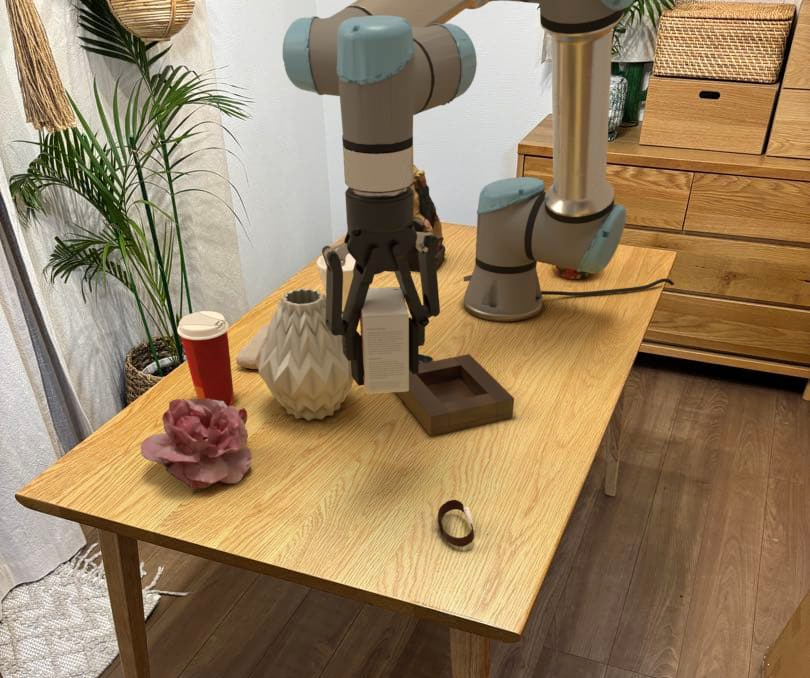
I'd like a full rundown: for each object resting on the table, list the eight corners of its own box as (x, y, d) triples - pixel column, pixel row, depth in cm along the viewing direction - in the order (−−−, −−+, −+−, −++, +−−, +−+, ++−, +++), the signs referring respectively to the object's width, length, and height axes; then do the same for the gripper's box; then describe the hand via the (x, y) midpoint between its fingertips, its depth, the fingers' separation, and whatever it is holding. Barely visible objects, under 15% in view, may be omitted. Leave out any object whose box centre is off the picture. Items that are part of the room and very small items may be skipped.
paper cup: (248, 394, 130) (236, 313, 121) (225, 417, 124) (211, 334, 115) (207, 386, 132) (191, 306, 123) (182, 409, 126) (164, 327, 117)
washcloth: (336, 334, 147) (335, 318, 145) (300, 379, 134) (298, 363, 132) (277, 326, 149) (275, 311, 147) (236, 370, 136) (233, 354, 134)
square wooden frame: (468, 372, 135) (469, 353, 133) (512, 417, 124) (514, 398, 122) (392, 388, 131) (392, 369, 129) (430, 436, 120) (431, 416, 118)
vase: (250, 394, 130) (234, 285, 118) (344, 375, 135) (337, 268, 123) (278, 444, 118) (263, 329, 106) (379, 421, 123) (376, 308, 111)
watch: (481, 547, 100) (483, 525, 98) (445, 552, 99) (446, 530, 97) (465, 511, 106) (466, 489, 103) (431, 515, 105) (432, 493, 103)
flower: (119, 468, 109) (126, 407, 103) (180, 427, 120) (190, 370, 114) (212, 516, 107) (225, 458, 101) (265, 470, 119) (279, 415, 113)
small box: (361, 364, 104) (357, 287, 98) (404, 361, 105) (402, 285, 98) (364, 395, 98) (360, 315, 92) (409, 392, 99) (408, 313, 92)
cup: (370, 296, 160) (369, 250, 154) (370, 317, 152) (368, 270, 146) (321, 297, 160) (317, 251, 154) (318, 318, 152) (314, 270, 146)
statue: (431, 275, 168) (433, 175, 155) (398, 269, 171) (396, 170, 158) (453, 256, 176) (457, 160, 163) (421, 250, 179) (422, 155, 166)
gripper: (446, 166, 92) (443, 347, 107) (282, 188, 86) (303, 376, 101) (475, 184, 86) (467, 372, 101) (302, 209, 81) (320, 404, 96)
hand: (385, 374), depth 101 cm, fingers closed on small box, 7 cm apart
